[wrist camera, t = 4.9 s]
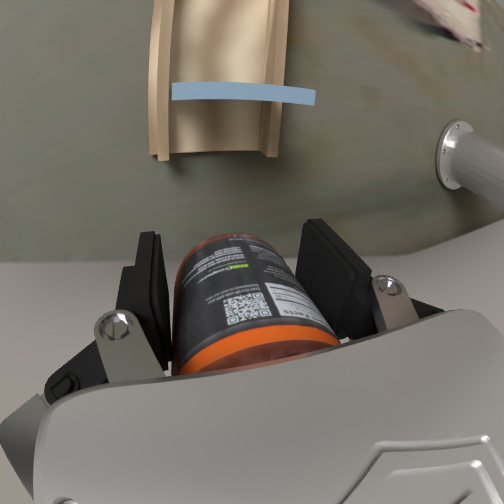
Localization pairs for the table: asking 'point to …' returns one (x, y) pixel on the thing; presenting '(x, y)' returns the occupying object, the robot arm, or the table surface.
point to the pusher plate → (242, 92)
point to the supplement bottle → (241, 308)
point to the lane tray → (215, 74)
